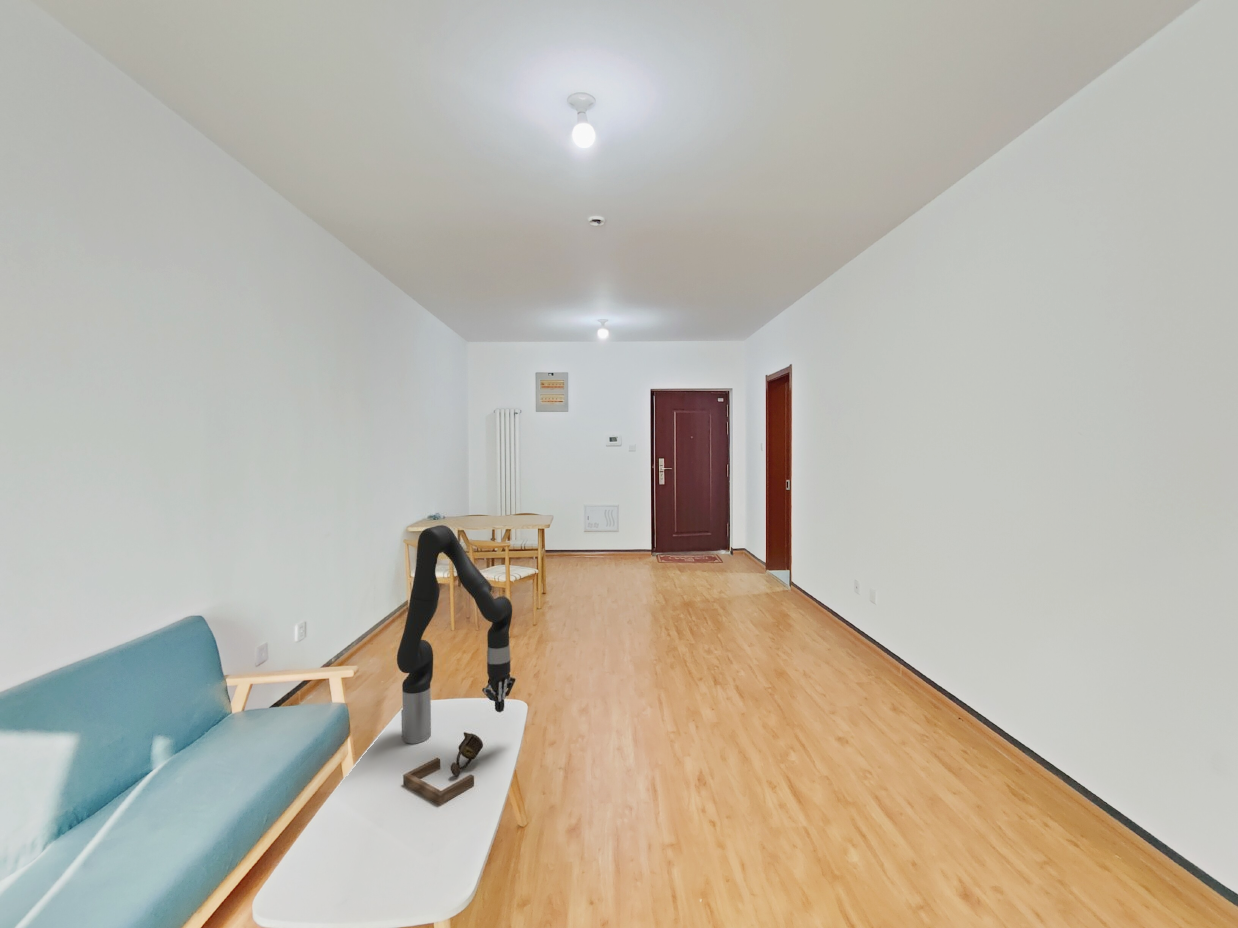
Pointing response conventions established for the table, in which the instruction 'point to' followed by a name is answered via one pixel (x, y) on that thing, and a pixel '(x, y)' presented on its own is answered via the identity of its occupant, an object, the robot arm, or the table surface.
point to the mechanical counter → (467, 751)
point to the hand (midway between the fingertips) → (499, 711)
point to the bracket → (431, 792)
